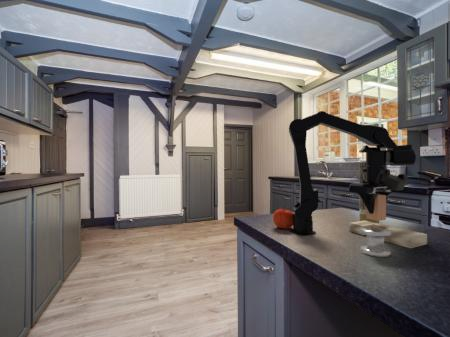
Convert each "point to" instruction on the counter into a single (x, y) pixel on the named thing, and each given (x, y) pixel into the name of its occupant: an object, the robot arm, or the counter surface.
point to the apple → (283, 218)
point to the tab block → (378, 209)
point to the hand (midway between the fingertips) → (375, 213)
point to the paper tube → (362, 206)
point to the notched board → (393, 234)
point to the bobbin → (375, 242)
